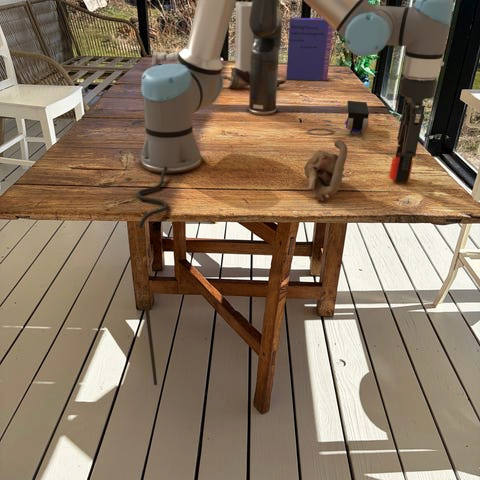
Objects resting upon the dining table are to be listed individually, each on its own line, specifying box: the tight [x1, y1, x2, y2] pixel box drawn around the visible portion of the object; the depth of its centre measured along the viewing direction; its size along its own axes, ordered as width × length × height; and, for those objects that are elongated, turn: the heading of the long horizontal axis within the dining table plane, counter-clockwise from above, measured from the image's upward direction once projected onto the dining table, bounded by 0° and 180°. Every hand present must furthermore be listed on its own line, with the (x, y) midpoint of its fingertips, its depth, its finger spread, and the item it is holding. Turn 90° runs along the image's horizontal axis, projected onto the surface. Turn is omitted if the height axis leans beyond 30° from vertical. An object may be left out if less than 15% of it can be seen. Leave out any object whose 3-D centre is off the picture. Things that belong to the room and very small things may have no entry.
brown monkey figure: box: [303, 139, 349, 202], centre depth 108 cm, size 13×9×15 cm
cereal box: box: [285, 17, 334, 82], centre depth 201 cm, size 17×5×24 cm, turn 86°
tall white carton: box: [234, 1, 253, 72], centre depth 210 cm, size 19×15×28 cm
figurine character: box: [344, 100, 370, 136], centre depth 146 cm, size 7×8×15 cm
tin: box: [388, 156, 414, 181], centre depth 114 cm, size 5×5×4 cm
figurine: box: [221, 66, 287, 89], centre depth 190 cm, size 24×8×30 cm
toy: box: [151, 50, 180, 67], centre depth 224 cm, size 24×25×7 cm
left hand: (399, 176), depth 115 cm, fingers closed on tin, 5 cm apart
